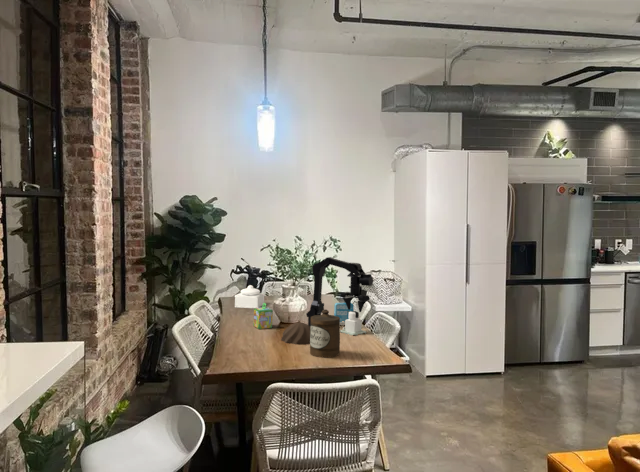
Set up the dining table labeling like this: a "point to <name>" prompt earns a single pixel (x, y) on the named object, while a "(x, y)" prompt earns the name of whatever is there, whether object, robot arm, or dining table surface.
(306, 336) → the decorative dome
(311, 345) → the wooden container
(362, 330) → the tray
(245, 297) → the butter dish
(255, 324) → the chalk box
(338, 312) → the data package
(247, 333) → the dining table surface
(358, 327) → the medicine bottle
